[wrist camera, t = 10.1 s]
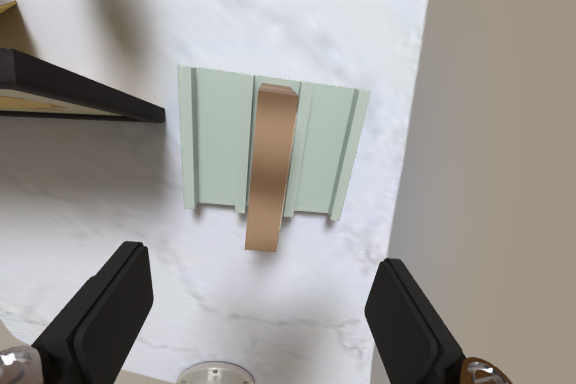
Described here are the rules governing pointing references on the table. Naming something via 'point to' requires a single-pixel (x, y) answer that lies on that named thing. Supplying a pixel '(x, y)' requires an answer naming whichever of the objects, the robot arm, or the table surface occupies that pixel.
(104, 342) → the robot arm
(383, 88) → the table surface
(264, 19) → the table surface
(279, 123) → the long brown rectangular block
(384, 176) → the table surface
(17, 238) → the table surface
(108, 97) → the picture frame
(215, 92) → the display rail
